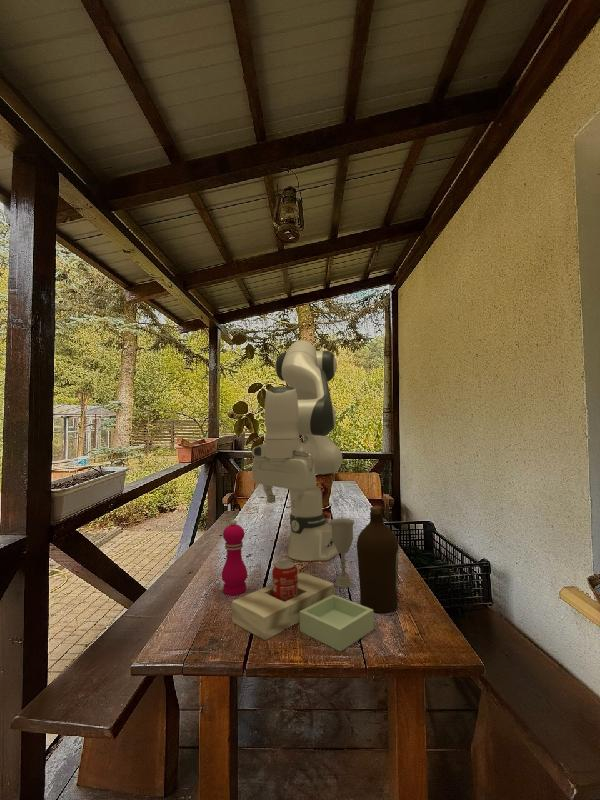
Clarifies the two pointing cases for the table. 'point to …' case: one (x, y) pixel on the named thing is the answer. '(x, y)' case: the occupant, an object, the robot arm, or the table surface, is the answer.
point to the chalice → (342, 546)
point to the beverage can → (285, 580)
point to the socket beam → (278, 606)
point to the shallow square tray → (336, 621)
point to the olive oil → (378, 564)
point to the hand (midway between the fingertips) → (283, 504)
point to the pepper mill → (234, 560)
